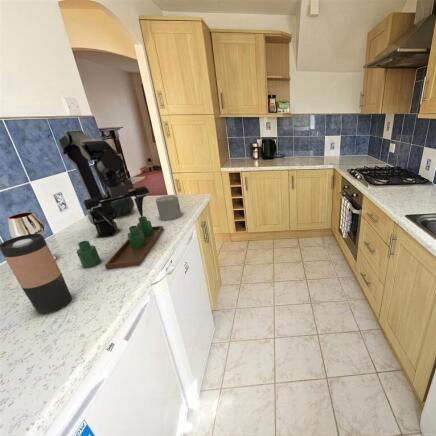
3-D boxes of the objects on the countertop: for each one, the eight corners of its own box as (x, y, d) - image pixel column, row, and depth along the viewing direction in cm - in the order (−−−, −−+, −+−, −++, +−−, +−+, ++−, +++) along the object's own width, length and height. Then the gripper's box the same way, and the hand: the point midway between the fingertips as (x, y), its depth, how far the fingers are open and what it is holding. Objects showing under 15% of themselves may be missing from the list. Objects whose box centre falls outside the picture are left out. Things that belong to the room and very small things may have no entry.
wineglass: (64, 257, 89) (43, 212, 82) (37, 270, 82) (11, 221, 75) (50, 254, 91) (28, 210, 84) (22, 266, 84) (-4, 219, 77)
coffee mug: (182, 217, 122) (178, 198, 118) (160, 221, 117) (155, 202, 113) (179, 209, 133) (175, 192, 129) (159, 213, 128) (154, 195, 124)
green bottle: (79, 268, 82) (70, 247, 79) (88, 260, 87) (79, 239, 83) (96, 267, 83) (87, 245, 80) (103, 259, 88) (95, 238, 84)
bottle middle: (129, 250, 93) (123, 230, 89) (134, 244, 97) (128, 225, 94) (143, 249, 94) (137, 229, 90) (148, 242, 98) (142, 223, 95)
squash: (89, 207, 123) (95, 187, 115) (118, 199, 136) (125, 181, 128) (108, 227, 122) (115, 209, 115) (135, 217, 135) (143, 200, 127)
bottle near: (139, 239, 101) (133, 220, 98) (143, 233, 106) (138, 215, 103) (151, 237, 102) (146, 219, 99) (155, 232, 107) (150, 214, 103)
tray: (106, 269, 81) (104, 264, 81) (139, 231, 108) (137, 228, 107) (139, 265, 83) (138, 260, 82) (163, 229, 109) (162, 225, 109)
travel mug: (51, 296, 70) (19, 234, 62) (79, 294, 70) (51, 232, 62) (27, 316, 63) (-13, 249, 55) (58, 313, 63) (23, 247, 55)
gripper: (75, 180, 70) (98, 230, 73) (144, 167, 82) (161, 210, 85) (73, 186, 78) (95, 231, 81) (136, 173, 91) (153, 213, 94)
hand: (127, 220), depth 85 cm, fingers open, 9 cm apart
